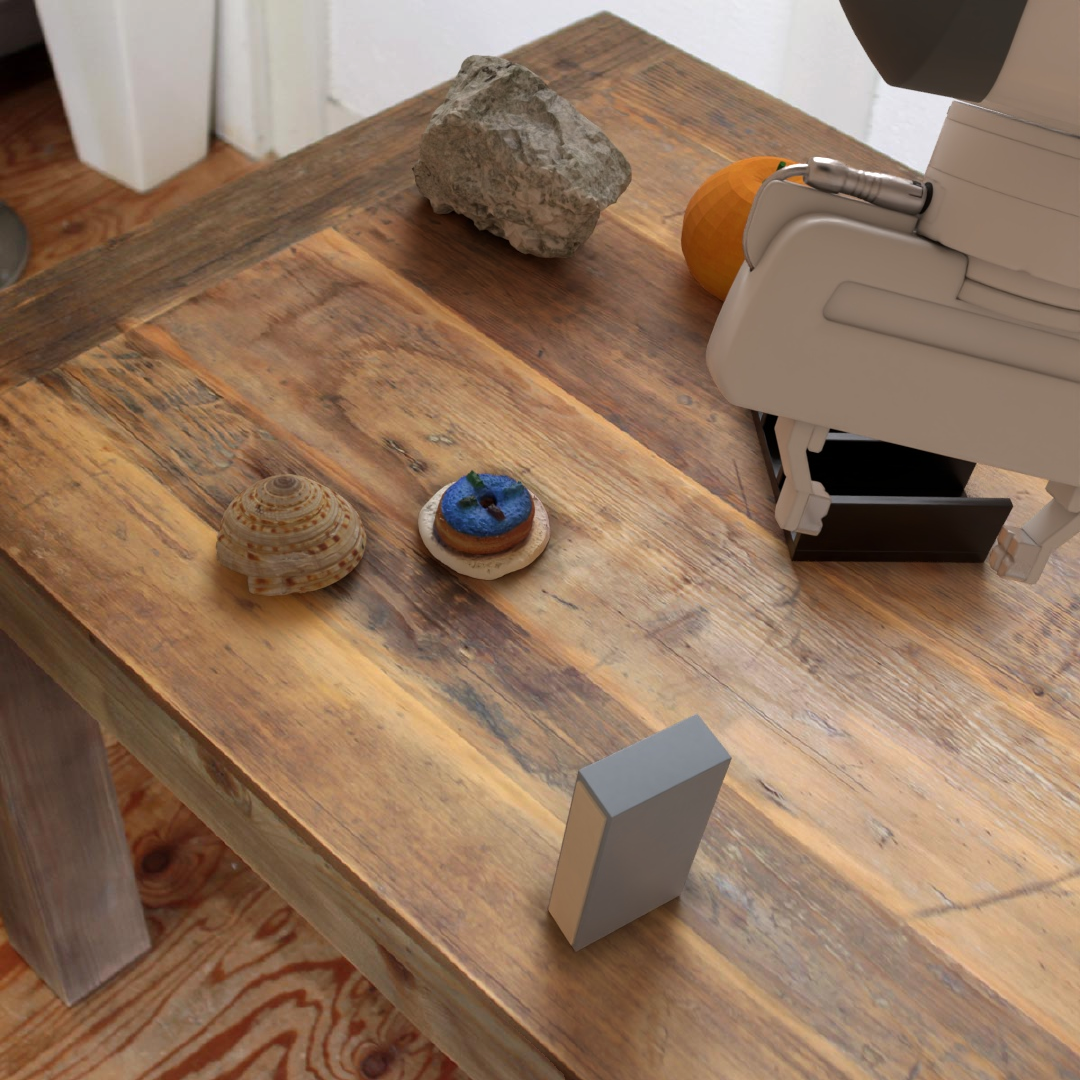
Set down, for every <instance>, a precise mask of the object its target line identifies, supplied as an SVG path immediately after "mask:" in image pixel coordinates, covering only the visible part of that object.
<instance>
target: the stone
mask: <svg viewBox="0 0 1080 1080" xmlns="http://www.w3.org/2000/svg"><path fill="white" fill-rule="evenodd" d="M419 139H420V140H419V144H418V147H419V149H420V150H419V151H418V153H419V157H418V159H417V160H416V163H415V164H414V166H413V167H412V168H411V171H412V172H413V175H414V182H415V185H416V187H417V191H418V193H419V194H420V195H421V196H422V197H424V198H426V199H428V200H429V202H430V206H431V207H432V211H433V213H435V214H437V215H445V214H446V215H447V214H450V213H451V212H453V211H454V212H455V213H456V214H458V215H461V214H462V215H464V216H465V217H466V218H468V219H470V220H472V221H473V224H474V226H475V227H476V229H478V230H479V231H484V230H487V231H488V232H489V233H490V234H492V235H493V236H496V237H500V238H502V239H505V240H507V241H509V244H510V246H511V247H513V248H514V249H515V250H517V252H518V251H519V252H520V253H522V254H524V255H528V254H529V255H532V256H534V257H538V258H546V259H550V258H551V259H552V258H573V257H574V256H575V253H576V250H577V249H578V248H579V246H580V245H581V244H585V243H586V242H587V241H588V240H589V239H590V238H591V236H592V235H593V234H594V232H595V229H596V226H597V224H598V220H599V219H600V218H601V212H603V211H604V210H606V209H608V208H609V206H611V205H614V204H617V202H618V199H619V198H620V197H621V196H622V195H623V194H624V193H625V192H626V191H627V188H629V186H630V185H631V184H630V183H631V182H632V180H633V179H632V178H633V173H632V172H633V171H632V165H631V163H630V162H629V161H628V160H627V158H626V157H625V155H624V153H623V152H622V151H621V150H620V149H618V147H616V145H615V144H614V143H613V142H612V141H611V140H610V138H609V137H608V136H607V134H605V132H604V131H603V130H602V129H601V128H600V127H599V126H598V125H596V124H595V123H594V122H593V121H591V120H590V119H588V118H587V117H586V116H585V115H583V114H582V113H581V112H580V111H579V110H578V109H577V108H575V106H574V105H573V104H572V103H571V102H570V101H569V100H568V99H566V98H564V97H562V96H560V95H559V94H558V93H557V92H556V91H555V90H553V89H551V87H550V86H548V84H547V83H546V82H545V81H544V80H543V79H542V78H541V76H540V75H538V74H536V73H535V72H534V71H532V70H530V69H529V68H527V67H526V66H524V65H521V64H519V63H518V62H512V61H510V60H507V59H506V58H503V57H500V56H494V55H481V54H472V55H470V56H468V57H466V58H465V59H464V60H463V61H462V62H461V65H460V69H459V70H458V73H457V74H456V76H455V78H454V80H453V82H452V83H451V84H450V87H449V89H448V91H447V93H446V95H445V99H444V101H443V103H442V104H441V105H440V106H438V107H437V108H436V109H435V110H434V111H433V112H432V114H431V116H430V119H429V122H428V124H427V126H426V128H425V130H424V132H423V133H422V134H420V138H419Z"/></svg>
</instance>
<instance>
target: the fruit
mask: <svg viewBox="0 0 1080 1080" xmlns="http://www.w3.org/2000/svg"><path fill="white" fill-rule="evenodd" d="M794 164H801V163H800V162H797V161H795V160H791V159H789V158H784V157H778V156H772V155H769V156H768V155H764V156H763V155H761V156H759V155H758V156H752V157H748V158H743V159H741V160H737V161H734V162H732V163H730V164H729V165H727V166H726V167H723V168H721V169H720V170H718V171H716V172H714V173H713V174H712V175H711V176H709V177H707V178H706V179H705V180H704V182H703V183H702V184H701V185H700V186H699V188H698V189H697V190H696V191H695V193H694V194H693V195H692V197H691V198H690V200H689V202H688V204H687V205H686V208H685V211H684V214H683V219H682V227H681V235H680V247H681V252H682V255H683V257H684V260H685V262H686V265H687V267H688V270H689V272H690V274H691V275H692V277H693V278H694V279H695V280H696V282H698V283H699V284H700V285H701V287H702V288H703V289H704V291H706V292H708V293H709V294H711V295H712V296H714V297H715V298H717V299H719V300H720V301H722V302H723V303H724V302H725V299H726V297H727V295H728V293H729V291H730V288H731V286H732V284H733V282H734V280H735V278H736V276H737V274H738V272H739V270H740V268H741V266H742V264H743V262H744V260H745V257H744V253H743V248H742V241H743V232H744V229H745V225H746V222H747V219H748V216H749V213H750V210H751V207H752V204H753V200H754V197H755V195H756V193H757V191H758V189H759V188H760V186H761V185H762V184H763V182H764V181H765V180H766V179H767V178H768V177H769V176H771V175H772V174H773V173H775V172H776V171H778V170H780V169H781V168H784V167H786V166H790V165H794ZM785 180H786V181H790V182H794V183H798V184H801V185H805V186H809V185H807V184H805V183H804V182H803V176H793V177H790V178H787V179H785ZM809 187H810V186H809Z"/></svg>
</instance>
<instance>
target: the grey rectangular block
mask: <svg viewBox="0 0 1080 1080" xmlns="http://www.w3.org/2000/svg"><path fill="white" fill-rule="evenodd" d="M732 759H733V757H732V756H731V754H730V753H729V752H728V750H727V749H726V748H725V747H724V746H723V744H722V742H720V740H719V739H718V737H716V735H715V734H714V733H713V732H712V731H711V729H710V728H709V727H708V725H707V724H706V723H705V721H704V720H703V719H702V717H701V716H700V715H699V714H698V713H695V714H692V715H690V716H688V717H687V718H684V719H682V720H680V721H678V722H676V723H674V724H672V725H669V726H668V727H666V728H663V729H661V730H659V731H658V732H655V733H653V734H651V735H649V736H647V737H645V738H643V739H640V740H638V741H636V742H634V743H632V744H630V745H628V746H626V747H624V748H622V749H619V750H617V751H615V752H613V753H611V754H609V755H607V756H605V757H603V758H601V759H598V760H596V761H594V762H593V763H590V764H588V765H586V766H584V767H582V768H580V769H578V770H577V774H576V779H575V782H574V788H573V792H572V795H571V801H570V806H569V811H568V814H567V820H566V824H565V827H564V832H563V838H562V841H561V846H560V851H559V855H558V856H559V857H558V860H557V863H556V868H555V873H554V878H553V882H552V886H551V891H550V896H549V900H548V904H547V910H548V912H549V913H550V915H551V917H552V918H553V920H554V921H555V923H556V925H557V926H558V927H559V929H560V931H561V932H562V934H563V936H564V937H565V938H566V940H567V942H568V943H569V945H570V946H571V947H572V950H574V952H578V951H580V950H583V949H584V948H586V947H588V946H590V945H592V944H594V943H595V942H597V941H599V940H601V939H603V938H605V937H606V936H608V935H610V934H612V933H613V932H615V931H617V930H619V929H621V928H622V927H624V926H626V925H628V924H630V923H633V921H636V920H637V919H639V918H641V917H643V916H645V915H646V914H648V913H651V912H652V911H654V910H656V909H658V908H660V907H661V906H663V905H665V904H666V903H668V902H670V901H672V900H674V899H677V898H678V897H679V896H680V897H681V895H682V892H683V889H684V887H685V884H686V882H687V879H688V876H689V874H690V872H691V871H690V870H691V868H692V865H693V863H694V860H695V858H696V855H697V852H698V849H699V847H700V844H701V842H702V839H703V837H704V833H705V831H706V828H707V826H708V823H709V821H710V817H711V815H712V812H713V810H714V807H715V804H716V802H717V799H718V797H719V794H720V791H721V789H722V785H723V783H724V780H725V777H726V775H727V772H728V769H729V767H730V765H731V763H732Z"/></svg>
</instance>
